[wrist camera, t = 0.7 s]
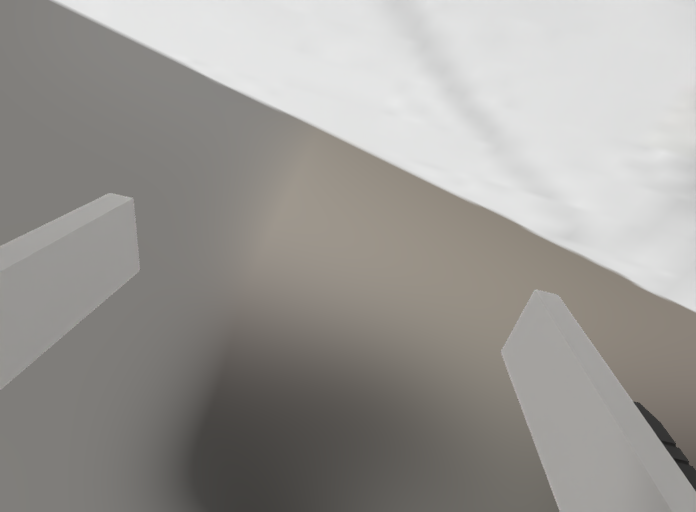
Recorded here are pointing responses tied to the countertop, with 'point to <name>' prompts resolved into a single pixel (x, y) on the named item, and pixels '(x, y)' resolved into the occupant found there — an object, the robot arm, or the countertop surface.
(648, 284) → the countertop surface
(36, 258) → the robot arm
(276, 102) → the countertop surface
